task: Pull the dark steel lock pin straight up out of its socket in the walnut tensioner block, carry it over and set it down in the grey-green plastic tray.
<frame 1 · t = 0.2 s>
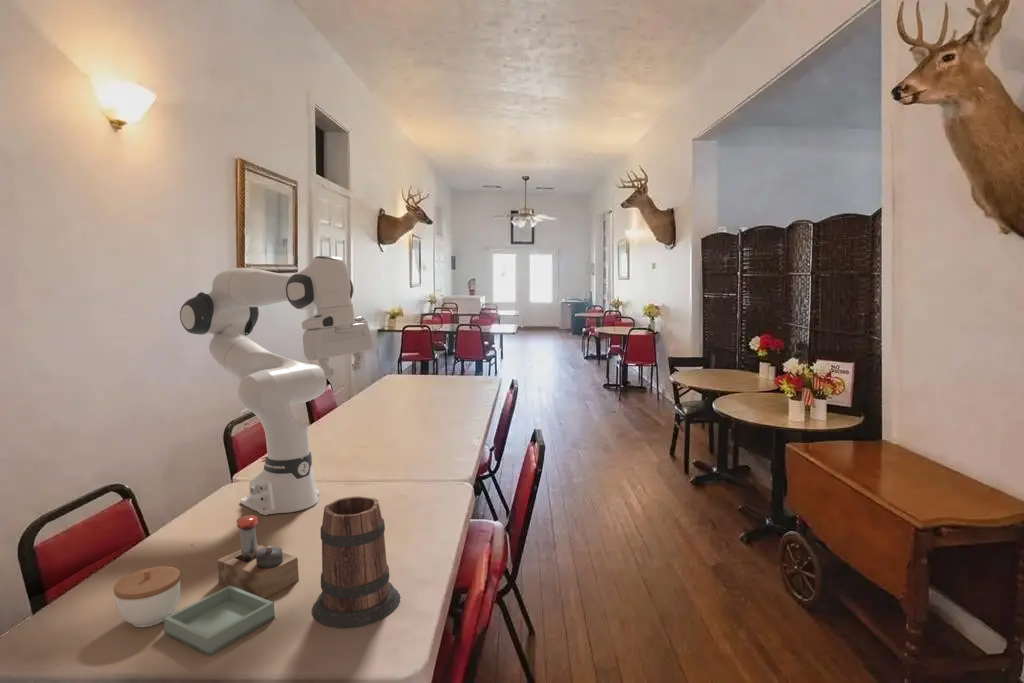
hand: (343, 373, 155), 39 cm above the table, tool pointing down, fingers open, 8 cm apart
tensioner block: (258, 581, 128), on the table
tankard: (354, 596, 122), on the table
lock pin: (251, 578, 129), resting in tensioner block
tray: (221, 625, 112), on the table
lidded jar: (151, 619, 115), on the table
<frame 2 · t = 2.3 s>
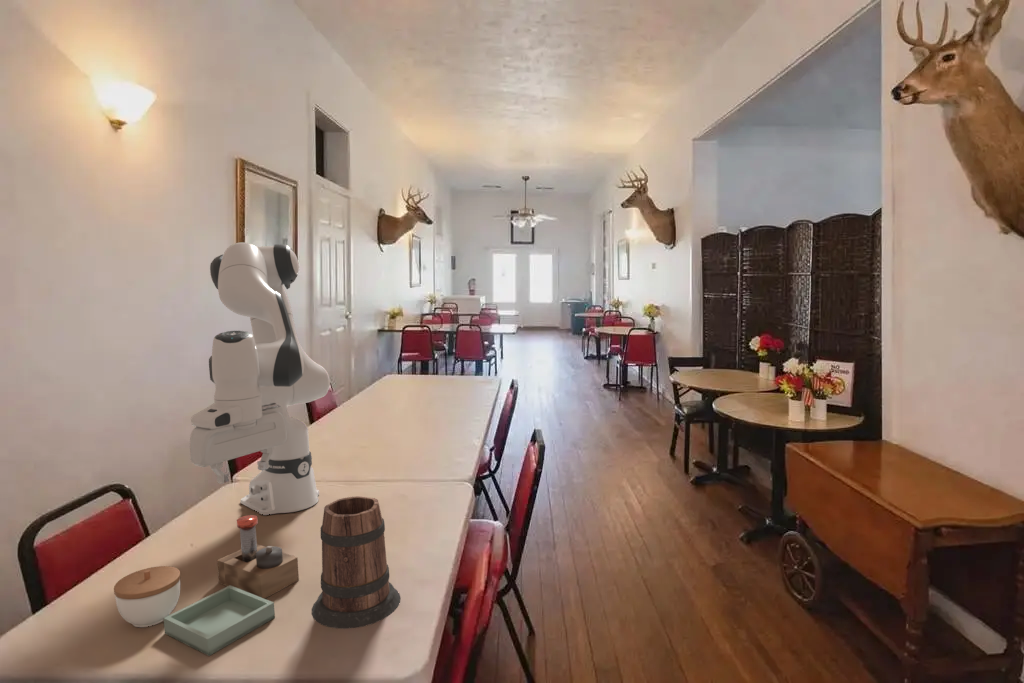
hand: (243, 475, 127), 23 cm above the table, tool pointing down, fingers open, 8 cm apart
nothing on the table moved.
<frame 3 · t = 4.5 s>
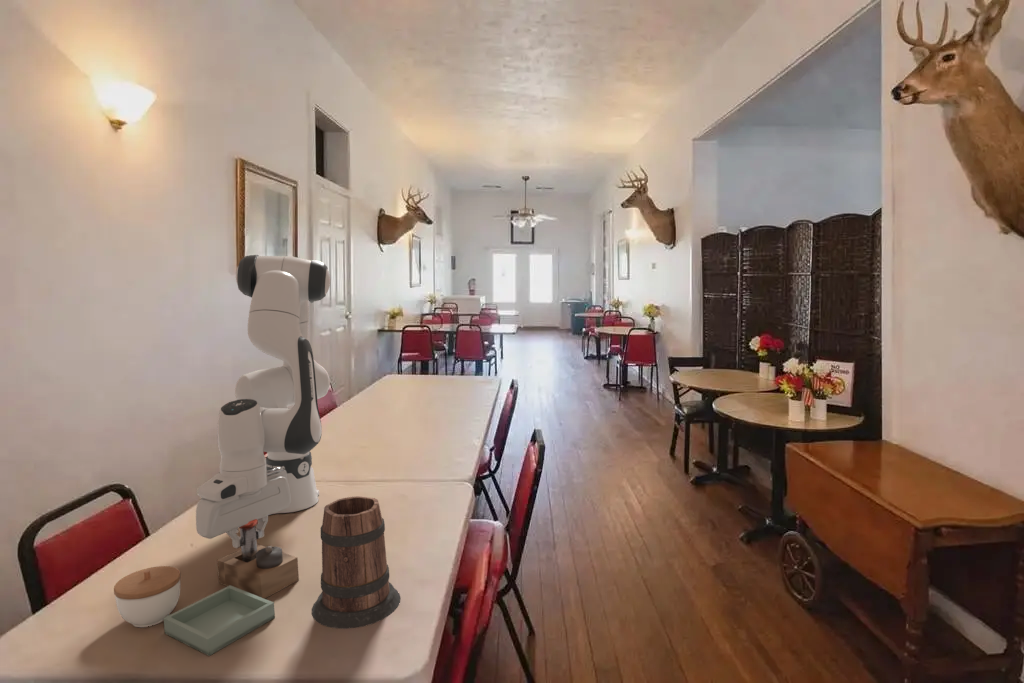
hand: (248, 542, 129), 8 cm above the table, tool pointing down, fingers closed on lock pin, 3 cm apart
lock pin: (251, 578, 129), resting in tensioner block, touching gripper
everything else where it was.
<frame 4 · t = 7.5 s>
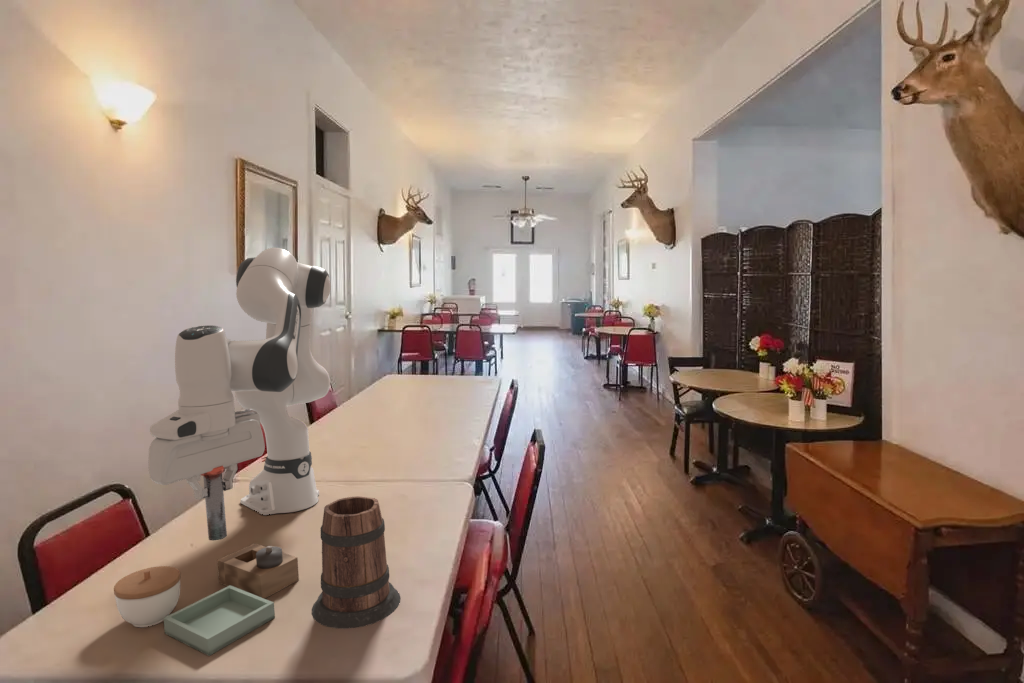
hand: (214, 493, 109), 25 cm above the table, tool pointing down, fingers closed on lock pin, 3 cm apart
lock pin: (217, 537, 110), point 17 cm above the table, touching gripper
everything else where it was.
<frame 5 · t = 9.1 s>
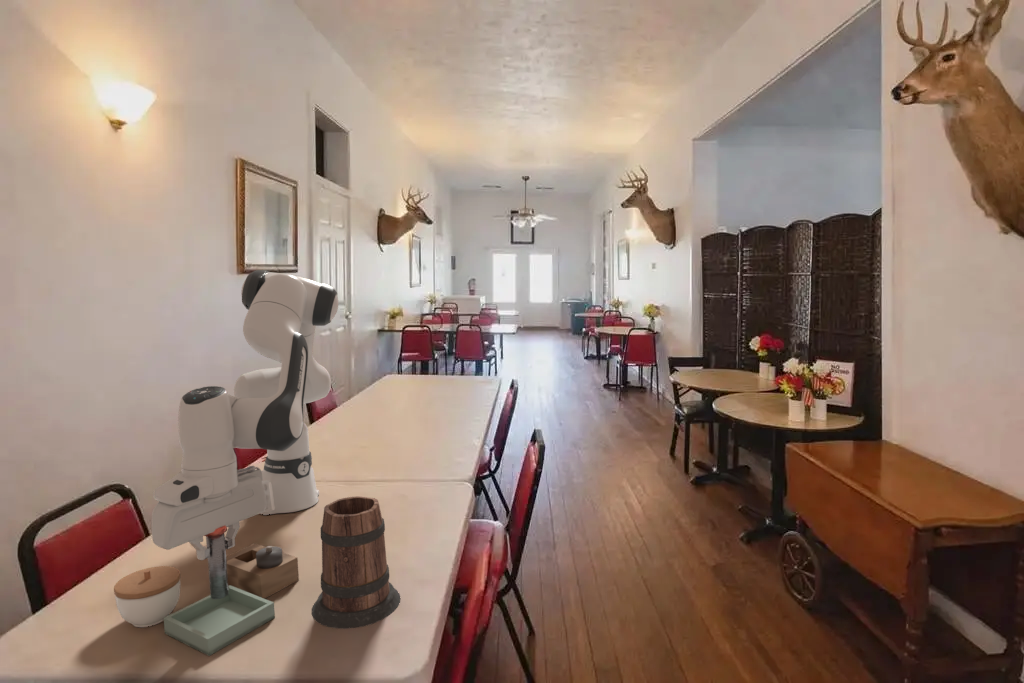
hand: (216, 552, 111), 14 cm above the table, tool pointing down, fingers closed on lock pin, 3 cm apart
lock pin: (219, 594, 111), point 6 cm above the table, touching gripper
everything else where it was.
when the fingers open (10 cm above the table, at t = 10.5 s): lock pin drops 1 cm, resting on tray.
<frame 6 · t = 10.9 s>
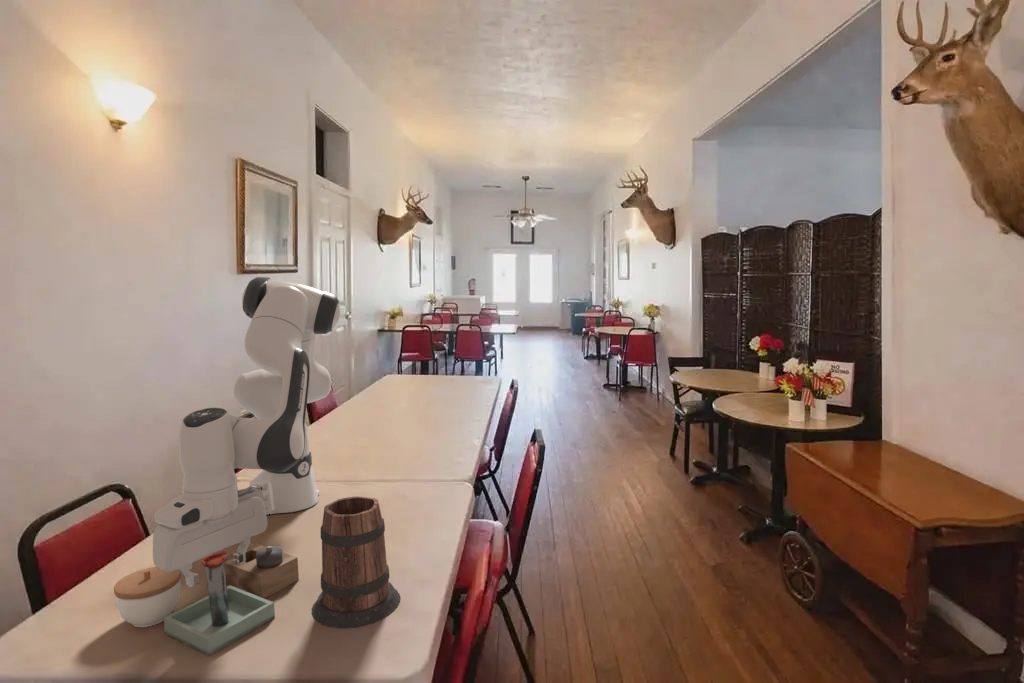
hand: (217, 573, 111), 10 cm above the table, tool pointing down, fingers open, 8 cm apart
lock pin: (221, 621, 112), point 1 cm above the table, touching tray
everything else where it was.
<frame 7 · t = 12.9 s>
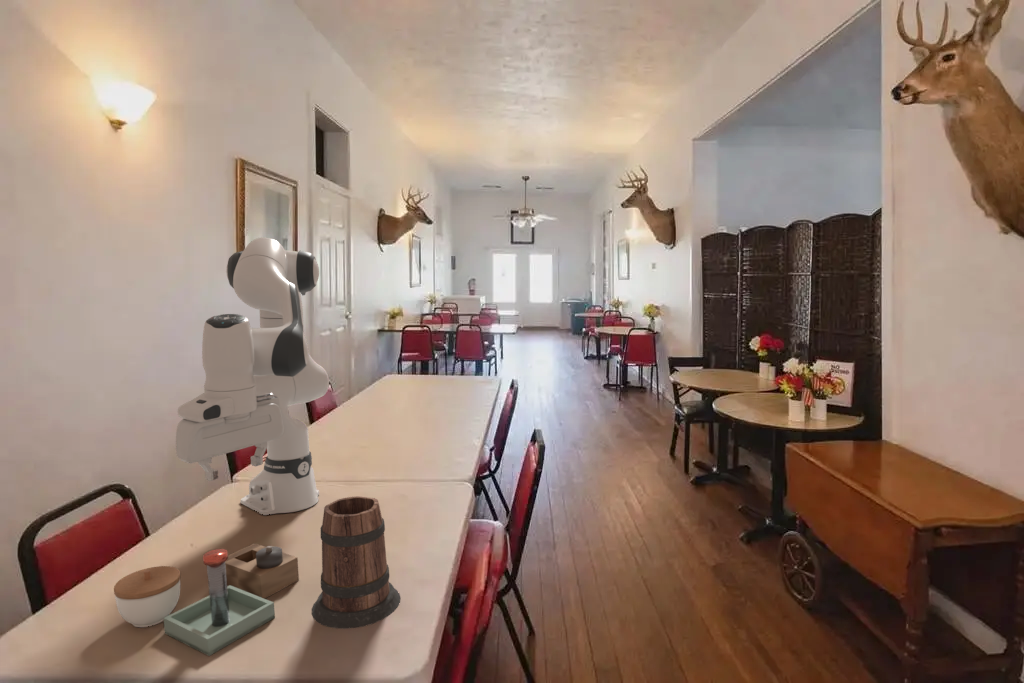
hand: (235, 472, 117), 27 cm above the table, tool pointing down, fingers open, 8 cm apart
nothing on the table moved.
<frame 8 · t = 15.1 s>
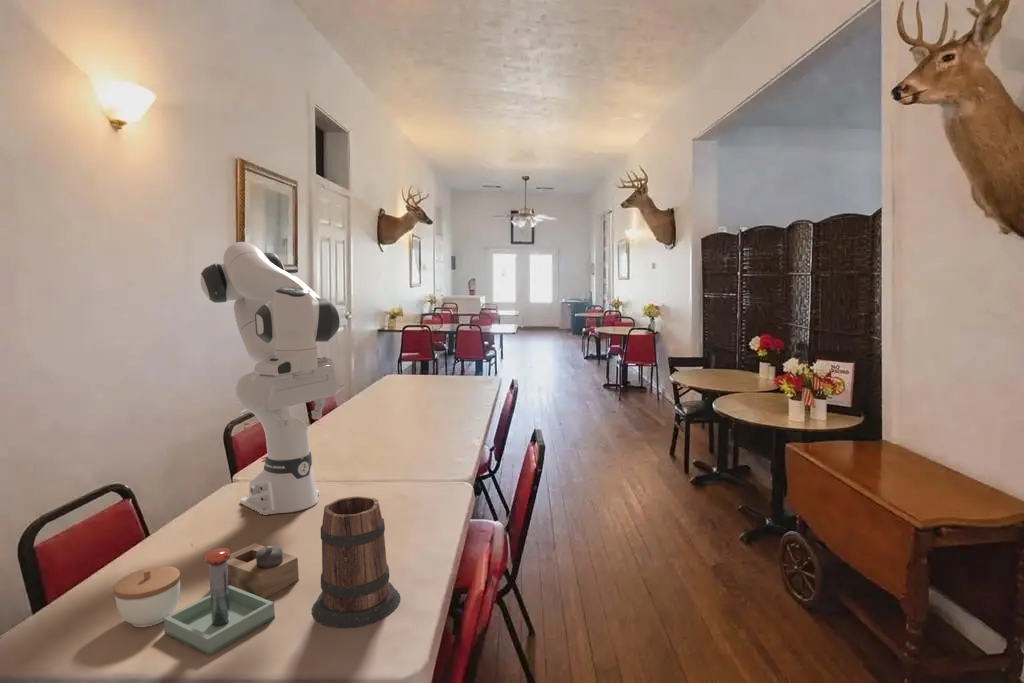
hand: (300, 423, 136), 31 cm above the table, tool pointing down, fingers open, 8 cm apart
nothing on the table moved.
at the end: lock pin inside the target area on the tray (0.1 cm from its centre), point 0.6 cm above the tray's base; the gripper is holding nothing; lock pin touching tray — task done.
